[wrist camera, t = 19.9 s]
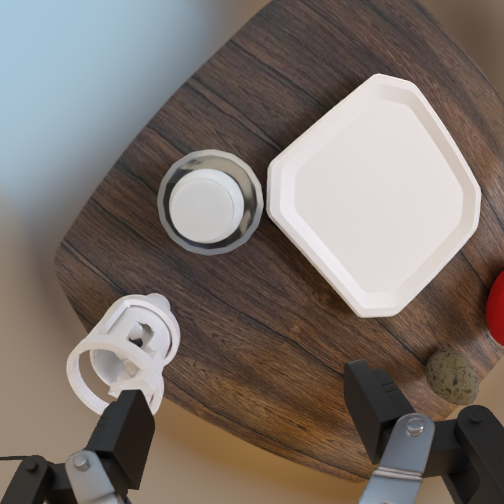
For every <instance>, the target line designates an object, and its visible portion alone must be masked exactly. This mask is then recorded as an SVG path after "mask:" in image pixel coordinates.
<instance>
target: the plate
mask: <svg viewBox="0 0 504 504" xmlns="http://www.w3.org/2000/svg"><path fill="white" fill-rule="evenodd" d="M480 202H481V190H480V187H479V185H478V183H477V181H476V179H475V177H474V175H473V173H472V172H471V170H470V168H469V166H468V164H467V162H466V161H465V159H464V157H463V155H462V154H461V152H460V150H459V149H458V147H457V145H456V144H455V142H454V140H453V139H452V137H451V135H450V134H449V132H448V131H447V129H446V128H445V126H444V124H443V123H442V121H441V120H440V118H439V117H438V115H437V114H436V113H435V111H434V110H433V108H432V107H431V105H430V104H429V103H428V101H427V100H426V98H425V97H424V96H423V94H422V93H421V92H420V90H419V89H418V88H417V86H416V85H415V84H413V83H412V82H410V81H407V80H403V79H399V78H395V77H391V76H387V75H383V74H375V75H373V76H371V77H370V78H369V79H368V80H366V81H365V82H364V83H363V84H361V85H360V86H359V87H358V88H356V89H355V90H354V91H353V92H351V93H350V94H349V95H348V96H347V97H345V98H344V99H343V100H342V101H341V102H339V103H338V104H337V105H336V106H335V107H333V108H332V109H331V110H330V111H329V112H327V113H326V114H325V115H324V116H323V117H321V118H320V119H319V120H318V121H317V122H316V123H314V124H313V125H312V126H311V127H310V128H309V129H307V130H306V131H305V132H304V133H303V134H302V135H301V136H299V137H298V138H297V139H296V140H295V141H294V142H293V143H291V144H290V145H289V146H288V147H287V148H286V149H285V150H283V151H282V152H281V153H280V154H279V155H278V156H277V157H276V158H274V159H273V160H272V161H271V162H270V164H269V167H268V170H267V194H266V211H267V214H268V217H269V218H270V219H271V220H272V221H273V222H274V223H275V224H276V225H277V226H278V228H279V229H280V230H281V231H282V232H283V233H284V234H285V235H286V236H287V237H288V238H289V240H290V241H291V242H292V243H293V244H294V245H295V246H296V247H297V248H298V249H299V251H300V252H301V253H302V254H303V255H304V256H305V257H306V258H307V259H308V261H309V262H310V263H311V264H312V265H313V266H314V267H315V268H316V269H317V271H318V272H319V273H320V274H321V275H322V276H323V277H324V278H325V280H326V281H327V282H328V283H329V284H330V285H331V286H332V288H333V289H334V290H335V291H336V292H337V293H338V294H339V295H340V297H341V298H342V299H343V300H344V301H345V302H346V303H347V305H348V306H349V307H350V308H351V309H352V310H353V312H354V313H355V314H356V315H357V316H359V317H362V318H368V317H387V316H394V315H396V314H398V313H399V312H400V311H401V310H402V309H403V308H404V307H405V306H406V305H407V304H408V303H409V302H410V301H411V300H412V299H413V298H414V297H415V296H416V295H417V294H418V293H419V292H420V291H421V290H422V289H423V288H424V287H425V286H426V285H427V284H428V283H429V282H430V281H431V280H432V279H433V278H434V277H435V276H436V275H437V274H438V273H439V272H440V271H441V270H442V268H443V267H444V266H445V265H446V264H447V263H448V262H449V261H450V260H451V259H452V258H453V256H454V255H455V254H456V253H457V252H458V251H459V250H460V249H461V247H462V246H463V245H464V244H465V243H466V242H467V240H468V239H469V238H470V237H471V236H472V234H473V233H474V232H475V231H476V229H477V227H478V222H479V213H480Z"/></svg>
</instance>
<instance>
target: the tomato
mask: <svg viewBox="0 0 504 504" xmlns="http://www.w3.org/2000/svg"><path fill="white" fill-rule="evenodd" d="M486 319H487V325H488V328H489V331H490V334H491V335H492V337H493V338H494V339H495V340H496V341H497V342H498V343H499V344H501V345H502V346H504V270H503V271H502V272H501V273H500V275H499V276H498V277H497V279H496V280H495V282H494V284H493V286H492V288H491V290H490V293H489V296H488V300H487V305H486Z"/></svg>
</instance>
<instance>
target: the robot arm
mask: <svg viewBox="0 0 504 504" xmlns="http://www.w3.org/2000/svg"><path fill="white" fill-rule="evenodd" d="M344 398H345V403H346V406H347V408H348V411H349V413H350V415H351V417H352V419H353V422H354V424H355V426H356V428H357V431H358V433H359V435H360V437H361V439H362V442H363V444H364V446H365V448H366V451H367V453H368V455H369V457H370V460H371V462H372V464H373V465H375V464H378V463H379V465H378V467H377V469H375V470H374V471H373V473H372V475H371V477H370V479H369V482H368V484H367V486H366V488H365V490H364V492H363V494H362V496H361V498H360V500H359V501H358V503H357V504H415V502H416V499H417V496H418V493H419V490H420V487H421V484H422V481H423V478H427V477H434V476H441V477H442V479H443V481H444V483H445V485H446V487H447V489H448V491H449V493H450V495H451V497H452V499H453V501H454V503H455V504H504V427H503V426H502V425H501V423H500V422H499V421H498V420H497V418H496V417H495V416H494V415H493V413H492V412H491V411H490V410H489V409H488V408H486V407H484V406H480V405H471V406H467V407H465V408H464V409H462V410H461V411H460V412H459V414H458V417H457V419H452V420H445V421H433V420H432V419H431V418H430V417H428V416H426V415H424V414H420V413H416V412H415V410H414V409H413V407H412V406H411V405H410V403H409V402H408V400H407V399H406V397H405V396H404V395H403V393H402V392H401V390H399V388H398V386H397V385H396V383H394V381H393V379H392V378H391V376H390V375H389V374H388V373H387V372H385V371H384V370H382V369H380V368H375V369H371V368H370V367H369V365H368V364H367V362H366V361H365V359H360V360H356V361H351V362H347V363H345V365H344ZM154 431H155V422H154V417H153V415H152V412H151V410H150V408H149V406H148V403H147V401H146V399H145V396H144V394H143V392H142V390H140V389H131V390H122V391H121V393H120V395H119V397H118V399H117V401H113V402H112V403H111V404H109V405H108V406H107V407H106V408H105V409H104V411H103V413H102V415H101V417H100V420H99V421H98V423H97V426H96V428H95V429H94V431H93V433H92V436H91V438H90V440H89V442H88V444H87V446H86V448H85V450H81V451H77V452H75V453H73V454H72V455H71V456H70V457H69V458H68V459H67V461H66V463H61V464H54V463H51V462H49V461H46V460H45V459H44V458H43V457H42V456H39V455H32V456H10V457H0V460H23V461H22V462H21V463H20V465H19V467H18V469H17V471H16V472H15V475H14V477H13V478H12V480H11V482H10V484H9V486H8V488H7V490H6V492H5V494H4V496H3V499H2V501H1V503H0V504H43V503H44V502H45V503H46V504H132V503H131V501H130V500H129V498H128V497H127V493H128V491H127V490H128V489H134V490H139V486H140V483H141V478H142V475H143V471H144V467H145V463H146V460H147V456H148V452H149V449H150V445H151V441H152V438H153V434H154Z"/></svg>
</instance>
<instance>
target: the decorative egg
mask: <svg viewBox="0 0 504 504" xmlns="http://www.w3.org/2000/svg"><path fill="white" fill-rule="evenodd" d="M425 375H426V380H427V382H428V384H429V386H430V387H431V389H432V390H433V391H434V392H435V393H436V394H437V395H438V396H440V397H441V398H443V399H445V400H446V401H448V402H451V403H453V404H456V405H469V404H471V403H473V402H474V401H475V399H476V398H477V396H478V392H479V385H478V379H477V376H476V373H475V371H474V368H473V367H472V365H471V363H470V362H469V360H468V359H467V358H466V356H465V355H463V354H462V353H461V352H459V351H458V350H455V349H452V348H443V349H440V350H438V351H436V352H435V353H433V354H432V355H431V357H430V358H429V360H428V362H427V364H426V369H425Z"/></svg>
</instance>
